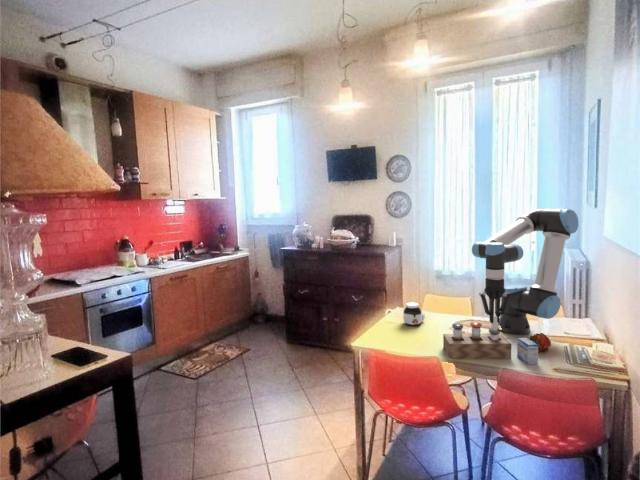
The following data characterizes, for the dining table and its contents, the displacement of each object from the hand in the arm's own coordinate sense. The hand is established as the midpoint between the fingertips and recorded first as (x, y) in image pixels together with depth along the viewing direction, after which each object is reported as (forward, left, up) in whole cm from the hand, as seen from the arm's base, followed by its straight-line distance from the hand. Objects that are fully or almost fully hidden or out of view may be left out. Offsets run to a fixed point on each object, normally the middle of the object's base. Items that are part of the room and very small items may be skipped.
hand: (494, 329), depth 171 cm
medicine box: (-11, +7, -11) cm, 18 cm away
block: (+8, 0, -11) cm, 14 cm away
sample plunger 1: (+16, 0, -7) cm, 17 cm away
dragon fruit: (-21, -4, -11) cm, 24 cm away
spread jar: (+29, -42, -11) cm, 52 cm away
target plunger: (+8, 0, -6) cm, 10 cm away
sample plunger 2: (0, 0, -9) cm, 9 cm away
